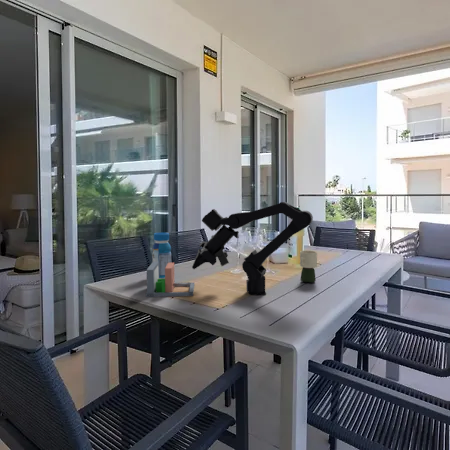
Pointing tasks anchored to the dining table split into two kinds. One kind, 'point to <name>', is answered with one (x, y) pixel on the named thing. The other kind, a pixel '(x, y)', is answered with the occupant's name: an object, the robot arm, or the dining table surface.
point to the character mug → (308, 265)
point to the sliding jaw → (171, 278)
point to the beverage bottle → (161, 252)
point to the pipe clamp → (160, 285)
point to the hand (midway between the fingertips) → (192, 268)
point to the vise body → (152, 279)
